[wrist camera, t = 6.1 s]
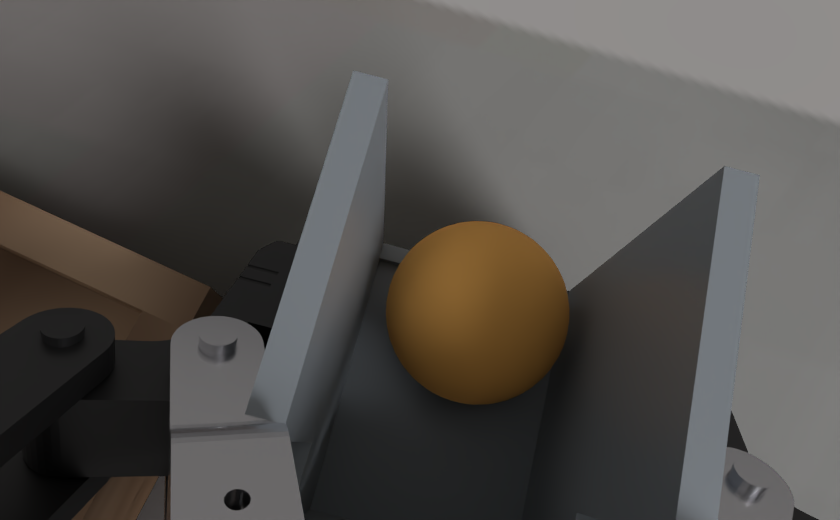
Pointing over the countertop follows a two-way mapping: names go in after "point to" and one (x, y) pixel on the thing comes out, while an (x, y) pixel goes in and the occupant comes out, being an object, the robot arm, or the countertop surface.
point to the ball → (477, 312)
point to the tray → (93, 303)
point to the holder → (535, 408)
